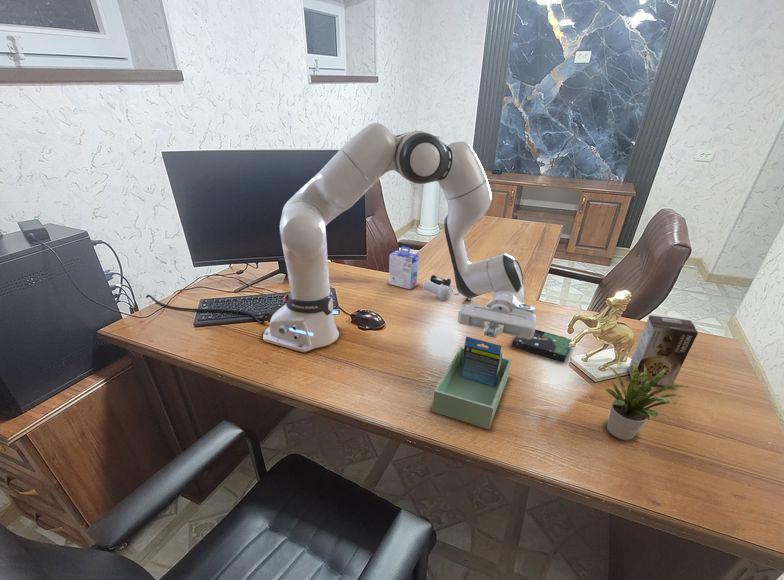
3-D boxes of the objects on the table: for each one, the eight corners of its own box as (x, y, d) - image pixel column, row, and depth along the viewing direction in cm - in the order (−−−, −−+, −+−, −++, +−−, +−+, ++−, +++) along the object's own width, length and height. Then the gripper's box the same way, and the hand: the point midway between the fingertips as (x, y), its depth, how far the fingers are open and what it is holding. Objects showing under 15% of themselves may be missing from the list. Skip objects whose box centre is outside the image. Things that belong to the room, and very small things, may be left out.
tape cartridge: (498, 379, 99) (506, 338, 92) (494, 388, 96) (502, 346, 89) (464, 369, 103) (470, 329, 96) (459, 377, 100) (465, 336, 93)
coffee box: (665, 373, 103) (692, 319, 94) (671, 388, 97) (700, 332, 89) (626, 366, 105) (649, 313, 96) (631, 380, 100) (655, 326, 91)
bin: (489, 429, 85) (493, 408, 82) (432, 411, 90) (434, 390, 86) (507, 379, 100) (511, 359, 97) (458, 365, 105) (460, 346, 102)
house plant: (680, 454, 79) (719, 392, 70) (622, 465, 77) (653, 402, 68) (630, 408, 91) (657, 350, 82) (577, 416, 88) (599, 357, 80)
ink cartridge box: (417, 285, 150) (419, 248, 142) (411, 290, 146) (412, 252, 138) (395, 279, 154) (396, 243, 146) (388, 284, 150) (388, 247, 142)
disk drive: (510, 349, 112) (564, 364, 106) (512, 340, 111) (567, 355, 104) (520, 333, 120) (571, 346, 113) (522, 325, 118) (574, 338, 112)
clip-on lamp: (473, 302, 144) (430, 283, 149) (479, 286, 141) (435, 267, 145) (463, 312, 135) (418, 291, 140) (470, 296, 131) (423, 275, 136)
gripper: (466, 294, 111) (451, 314, 101) (541, 309, 104) (533, 332, 93) (464, 313, 115) (449, 335, 104) (536, 329, 107) (528, 354, 97)
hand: (489, 334), depth 99 cm, fingers closed
